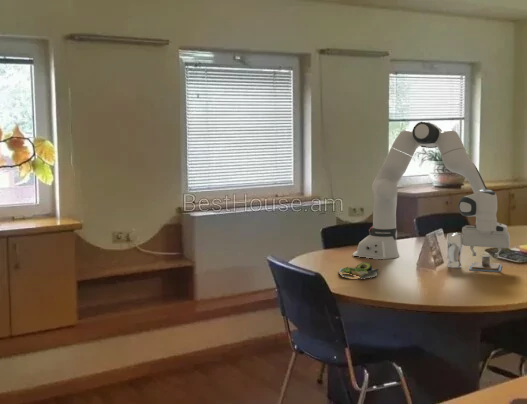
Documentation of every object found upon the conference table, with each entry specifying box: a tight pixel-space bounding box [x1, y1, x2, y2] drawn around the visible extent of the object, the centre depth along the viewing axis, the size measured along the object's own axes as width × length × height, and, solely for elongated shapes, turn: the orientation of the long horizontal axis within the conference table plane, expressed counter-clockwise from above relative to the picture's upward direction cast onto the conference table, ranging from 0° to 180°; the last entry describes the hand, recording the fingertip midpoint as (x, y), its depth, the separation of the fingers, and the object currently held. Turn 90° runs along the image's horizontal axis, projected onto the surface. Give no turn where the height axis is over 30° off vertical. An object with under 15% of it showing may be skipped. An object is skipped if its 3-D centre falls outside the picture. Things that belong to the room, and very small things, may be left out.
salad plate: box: [338, 262, 380, 280], centre depth 291 cm, size 19×18×5 cm
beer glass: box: [446, 232, 464, 269], centre depth 303 cm, size 7×7×15 cm
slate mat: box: [468, 262, 503, 273], centre depth 300 cm, size 13×13×1 cm
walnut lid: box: [472, 255, 501, 271], centre depth 300 cm, size 11×11×5 cm
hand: (485, 256), depth 299 cm, fingers open, 8 cm apart
